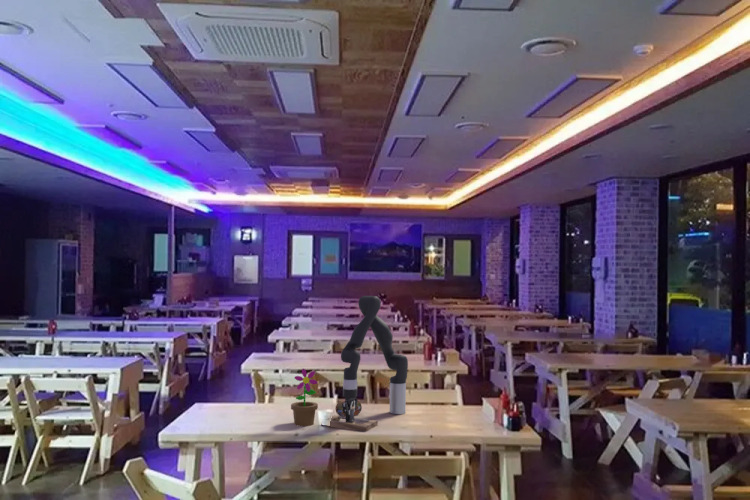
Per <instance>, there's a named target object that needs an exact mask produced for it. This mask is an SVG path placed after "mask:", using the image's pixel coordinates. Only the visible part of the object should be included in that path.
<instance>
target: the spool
mask: <svg viewBox="0 0 750 500" xmlns="http://www.w3.org/2000/svg"><path fill="white" fill-rule="evenodd" d="M348 408H349V407H348ZM354 409H355V407H352V408H351V410H350V421H346V420H345V422H347V423H355V421H354V418H355V415H354ZM348 411H349V410H348ZM355 424H356V423H355Z"/></svg>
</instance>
